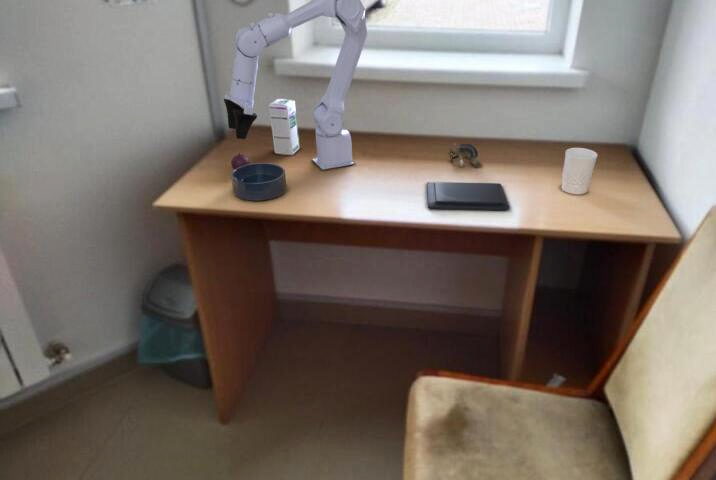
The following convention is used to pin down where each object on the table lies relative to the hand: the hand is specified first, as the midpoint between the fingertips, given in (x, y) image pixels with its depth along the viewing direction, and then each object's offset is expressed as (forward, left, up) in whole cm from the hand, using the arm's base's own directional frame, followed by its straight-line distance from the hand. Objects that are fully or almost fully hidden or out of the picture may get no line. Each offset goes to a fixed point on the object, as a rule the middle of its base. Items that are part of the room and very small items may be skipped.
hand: (236, 133), depth 144 cm
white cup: (-75, +47, -11) cm, 89 cm away
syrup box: (-16, -11, -11) cm, 22 cm away
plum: (0, -1, -11) cm, 11 cm away
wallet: (-46, +39, -11) cm, 62 cm away
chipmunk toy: (-58, +20, -11) cm, 62 cm away
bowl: (-1, +13, -11) cm, 17 cm away
